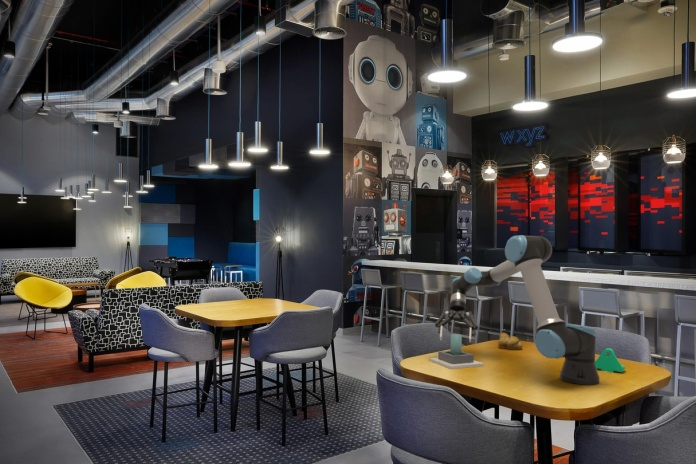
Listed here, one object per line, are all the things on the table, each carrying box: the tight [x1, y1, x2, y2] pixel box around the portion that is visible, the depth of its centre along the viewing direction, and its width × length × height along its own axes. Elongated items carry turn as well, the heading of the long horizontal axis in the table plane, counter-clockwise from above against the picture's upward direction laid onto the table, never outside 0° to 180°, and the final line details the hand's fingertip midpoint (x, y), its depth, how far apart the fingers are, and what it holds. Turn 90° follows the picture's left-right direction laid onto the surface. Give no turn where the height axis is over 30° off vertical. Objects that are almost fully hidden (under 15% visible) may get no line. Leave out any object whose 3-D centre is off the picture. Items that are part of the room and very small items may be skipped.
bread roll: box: [497, 332, 523, 350], centre depth 294 cm, size 13×10×8 cm
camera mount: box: [595, 347, 626, 373], centre depth 247 cm, size 12×8×10 cm, turn 54°
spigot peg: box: [450, 333, 463, 355], centre depth 255 cm, size 5×5×12 cm
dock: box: [428, 350, 485, 370], centre depth 255 cm, size 18×18×5 cm
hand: (455, 339), depth 256 cm, fingers open, 13 cm apart
